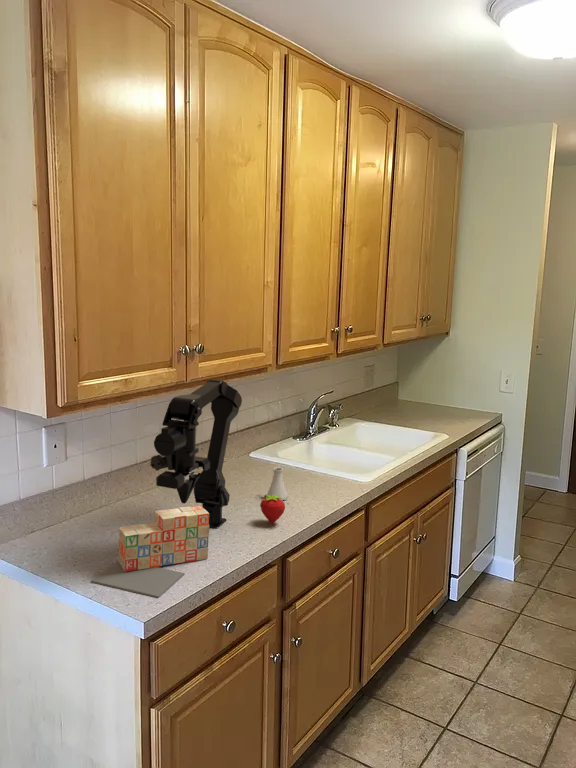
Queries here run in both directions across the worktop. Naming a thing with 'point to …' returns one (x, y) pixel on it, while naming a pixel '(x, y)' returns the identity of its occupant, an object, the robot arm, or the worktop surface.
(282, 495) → the flask
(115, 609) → the worktop surface
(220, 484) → the robot arm
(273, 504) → the strawberry
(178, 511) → the stack of blocks
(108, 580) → the mat
